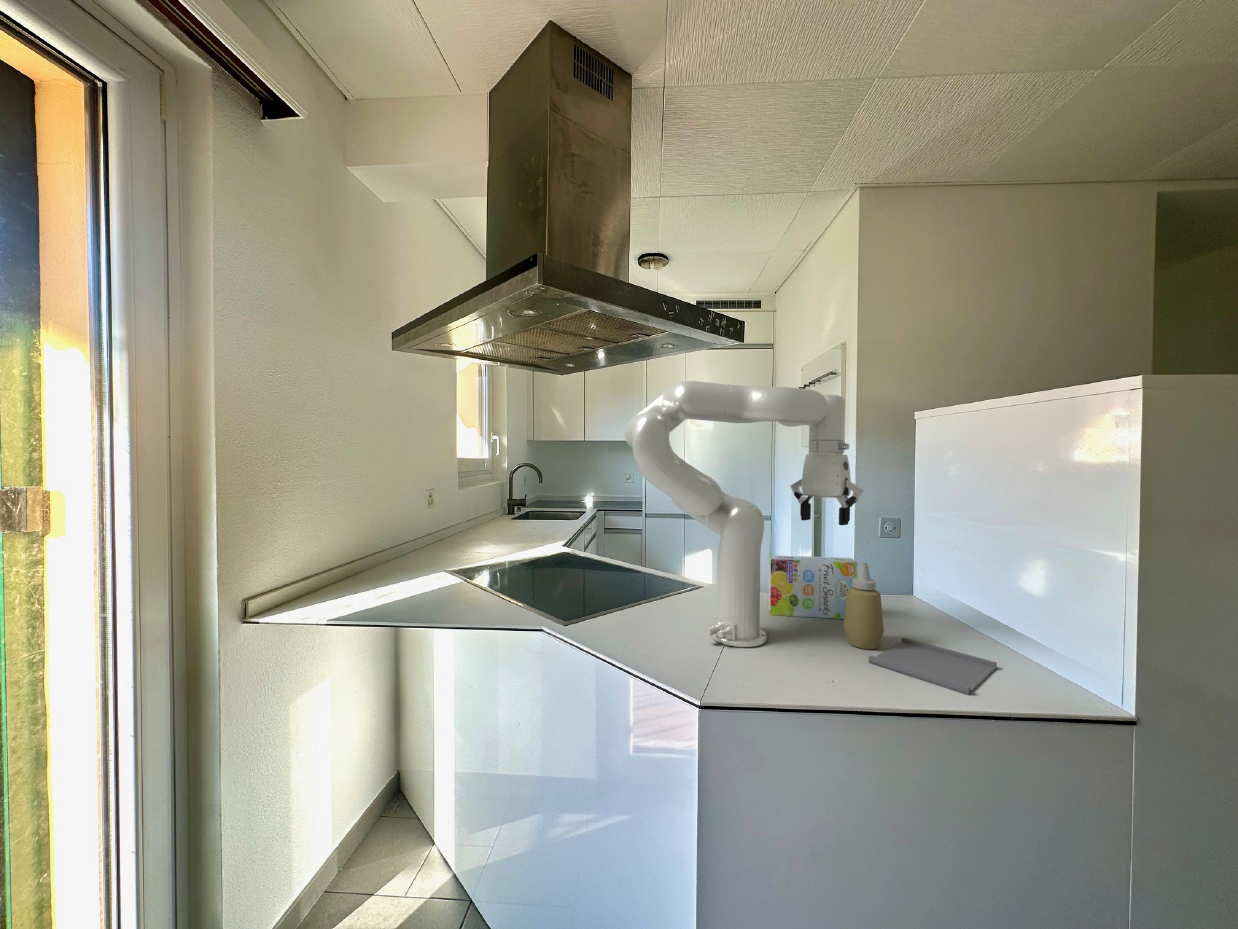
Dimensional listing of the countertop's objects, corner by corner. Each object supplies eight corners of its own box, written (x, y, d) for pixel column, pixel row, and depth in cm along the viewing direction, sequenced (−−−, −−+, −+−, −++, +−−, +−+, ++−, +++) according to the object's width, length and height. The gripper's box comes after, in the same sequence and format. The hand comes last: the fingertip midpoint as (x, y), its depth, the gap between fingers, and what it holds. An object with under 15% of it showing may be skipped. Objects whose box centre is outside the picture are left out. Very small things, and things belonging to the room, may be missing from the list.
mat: (968, 695, 86) (968, 688, 86) (868, 662, 99) (868, 656, 99) (996, 668, 97) (996, 662, 97) (903, 642, 110) (903, 637, 110)
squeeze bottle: (837, 637, 113) (838, 559, 112) (874, 638, 112) (875, 560, 111) (850, 651, 105) (851, 567, 104) (890, 653, 104) (891, 568, 103)
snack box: (850, 613, 129) (851, 557, 129) (857, 621, 124) (858, 561, 124) (767, 609, 133) (767, 553, 133) (769, 615, 128) (770, 558, 127)
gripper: (871, 449, 110) (869, 525, 111) (800, 448, 124) (798, 517, 124) (855, 448, 105) (853, 528, 106) (783, 448, 119) (782, 519, 119)
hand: (824, 522), depth 115 cm, fingers open, 8 cm apart
